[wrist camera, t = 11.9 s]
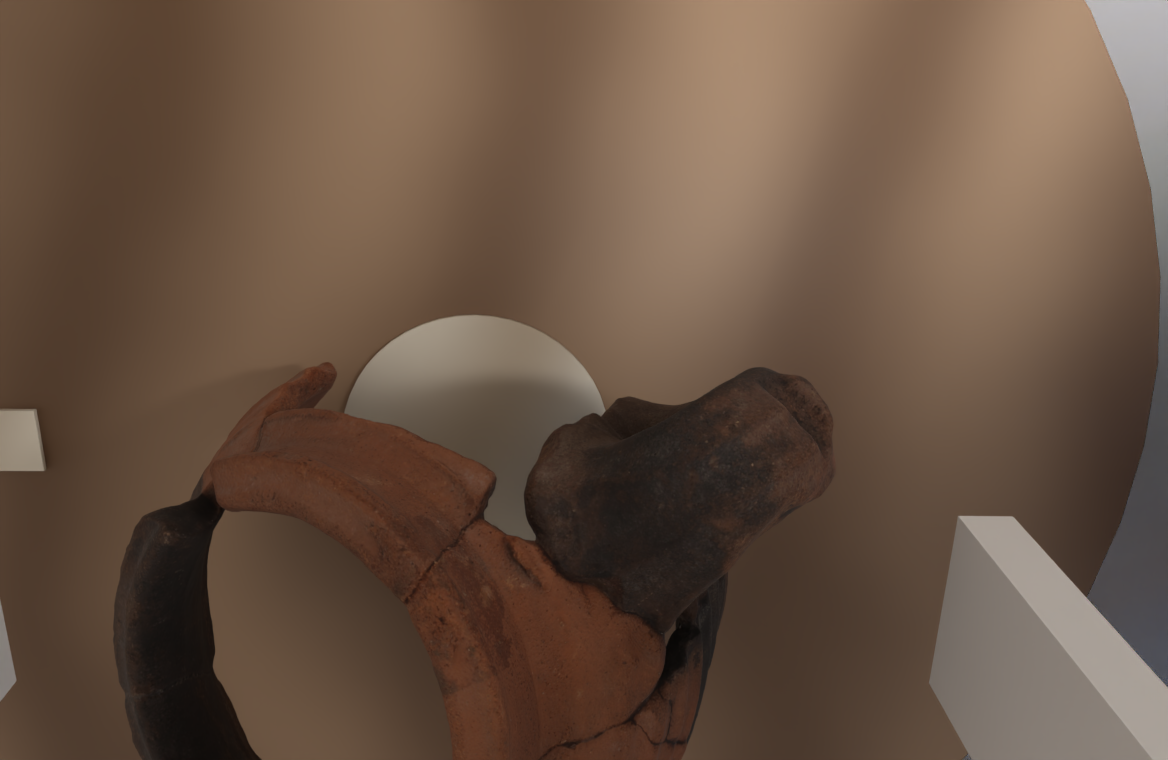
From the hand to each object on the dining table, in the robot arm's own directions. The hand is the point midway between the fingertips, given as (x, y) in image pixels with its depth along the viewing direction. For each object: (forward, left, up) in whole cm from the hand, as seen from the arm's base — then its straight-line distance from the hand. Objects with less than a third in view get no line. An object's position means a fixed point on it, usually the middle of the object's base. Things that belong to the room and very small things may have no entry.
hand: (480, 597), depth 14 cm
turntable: (0, 0, -7) cm, 7 cm away
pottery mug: (0, +2, -6) cm, 6 cm away
